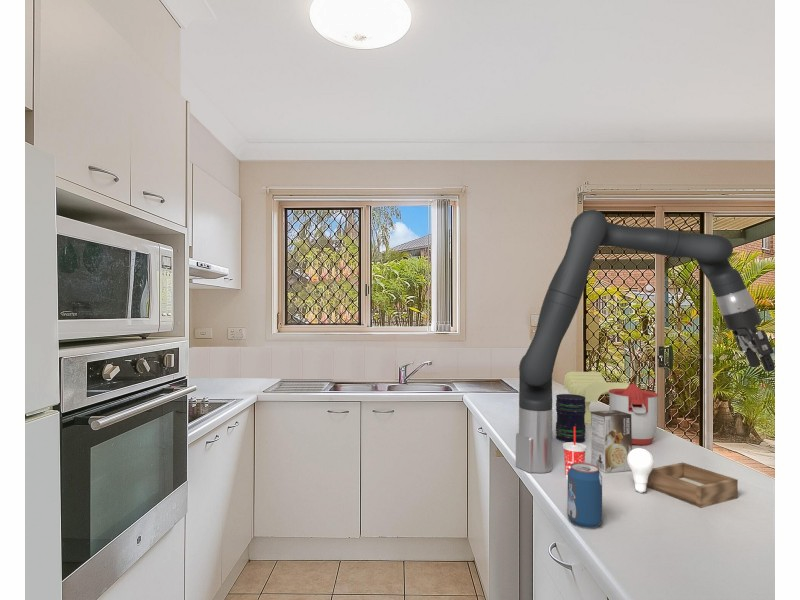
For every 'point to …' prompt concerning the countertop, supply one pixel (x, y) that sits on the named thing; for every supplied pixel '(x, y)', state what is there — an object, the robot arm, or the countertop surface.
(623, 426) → the coffee box
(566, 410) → the storage jar
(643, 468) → the lightbulb
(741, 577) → the countertop surface
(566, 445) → the beverage cup
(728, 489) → the parts box
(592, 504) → the soda can
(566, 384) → the hair dryer
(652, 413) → the citrus juicer
